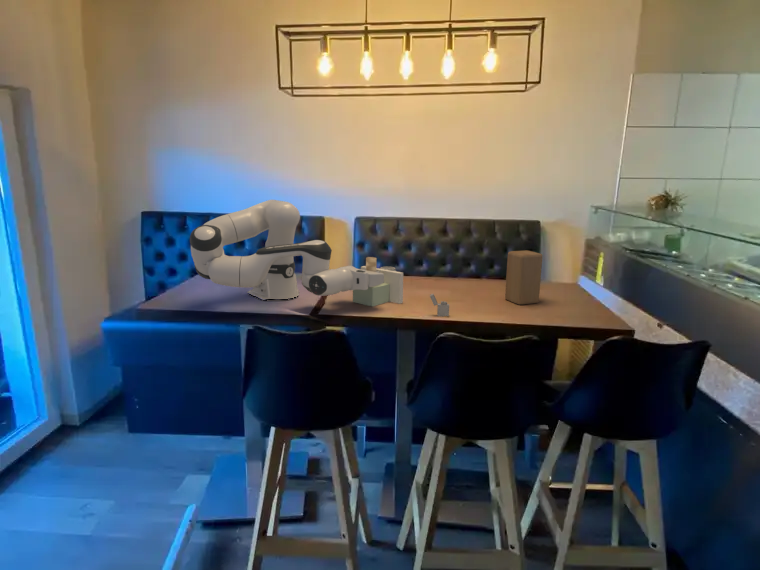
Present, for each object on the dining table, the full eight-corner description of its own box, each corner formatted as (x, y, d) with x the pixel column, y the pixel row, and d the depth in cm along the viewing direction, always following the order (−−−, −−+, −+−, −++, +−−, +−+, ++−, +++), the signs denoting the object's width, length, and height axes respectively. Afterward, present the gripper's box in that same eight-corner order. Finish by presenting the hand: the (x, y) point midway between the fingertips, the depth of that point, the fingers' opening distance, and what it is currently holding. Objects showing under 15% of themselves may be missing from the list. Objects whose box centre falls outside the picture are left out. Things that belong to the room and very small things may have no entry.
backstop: (327, 307, 195) (327, 273, 192) (363, 296, 211) (364, 265, 208) (367, 317, 182) (367, 281, 179) (402, 305, 198) (403, 272, 195)
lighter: (448, 315, 186) (449, 294, 184) (448, 316, 184) (449, 295, 182) (429, 314, 187) (429, 293, 185) (428, 315, 185) (429, 294, 183)
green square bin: (352, 302, 198) (352, 284, 196) (369, 297, 206) (369, 280, 204) (372, 306, 192) (372, 288, 190) (389, 301, 199) (389, 283, 198)
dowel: (363, 296, 198) (363, 258, 194) (370, 294, 201) (370, 256, 197) (371, 298, 195) (371, 259, 192) (378, 296, 198) (378, 258, 195)
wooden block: (524, 297, 212) (527, 249, 208) (539, 303, 203) (543, 253, 199) (503, 299, 209) (507, 251, 204) (518, 305, 200) (522, 255, 195)
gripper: (328, 282, 193) (352, 276, 204) (368, 291, 181) (393, 284, 191) (327, 265, 192) (352, 261, 202) (368, 273, 179) (393, 267, 190)
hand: (372, 272), depth 197 cm, fingers open, 4 cm apart
